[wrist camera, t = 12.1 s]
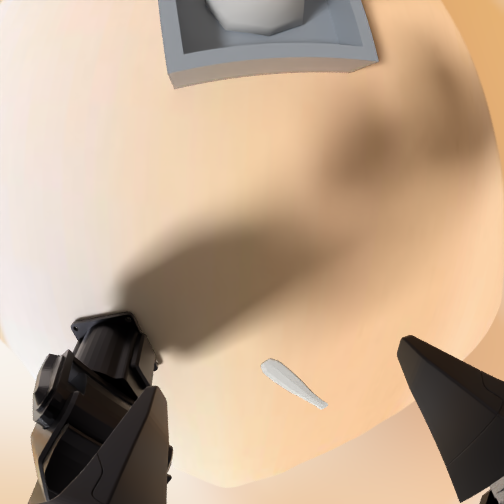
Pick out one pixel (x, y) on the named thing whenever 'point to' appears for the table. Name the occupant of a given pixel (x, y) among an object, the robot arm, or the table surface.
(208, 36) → the tray
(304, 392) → the butter knife
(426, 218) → the table surface
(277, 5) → the flask
